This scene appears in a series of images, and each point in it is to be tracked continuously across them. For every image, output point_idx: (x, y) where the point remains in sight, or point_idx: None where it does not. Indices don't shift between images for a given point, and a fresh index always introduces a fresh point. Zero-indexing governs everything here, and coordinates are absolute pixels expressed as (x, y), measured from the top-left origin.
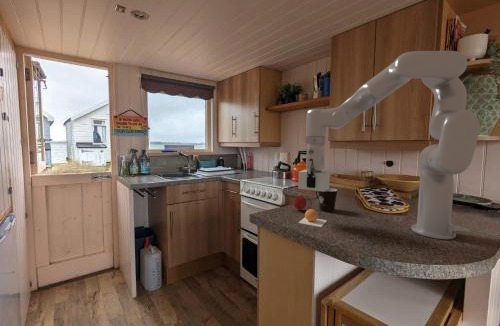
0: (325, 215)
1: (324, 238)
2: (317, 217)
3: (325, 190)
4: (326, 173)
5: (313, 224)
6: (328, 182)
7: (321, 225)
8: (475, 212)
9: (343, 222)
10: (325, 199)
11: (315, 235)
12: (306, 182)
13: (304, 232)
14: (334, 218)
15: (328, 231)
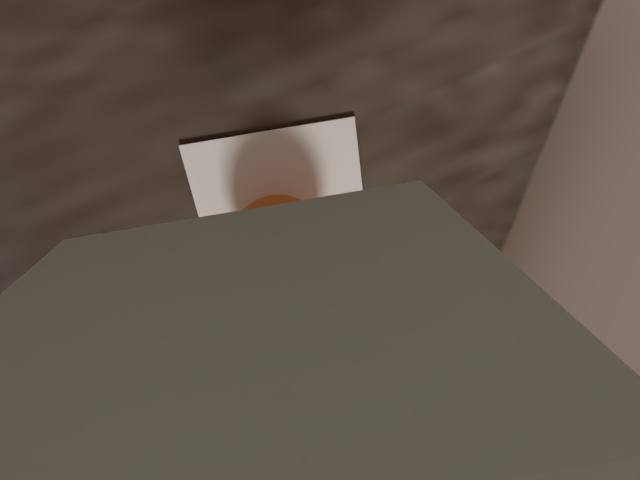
0: (51, 211)
1: (554, 3)
2: (267, 196)
3: (347, 194)
4: (406, 470)
5: (343, 180)
6: (85, 289)
7: (325, 127)
8: None
9: (104, 14)
10: None
11: (529, 79)
12: None
13: (512, 160)
14: (63, 121)
15: (404, 36)
